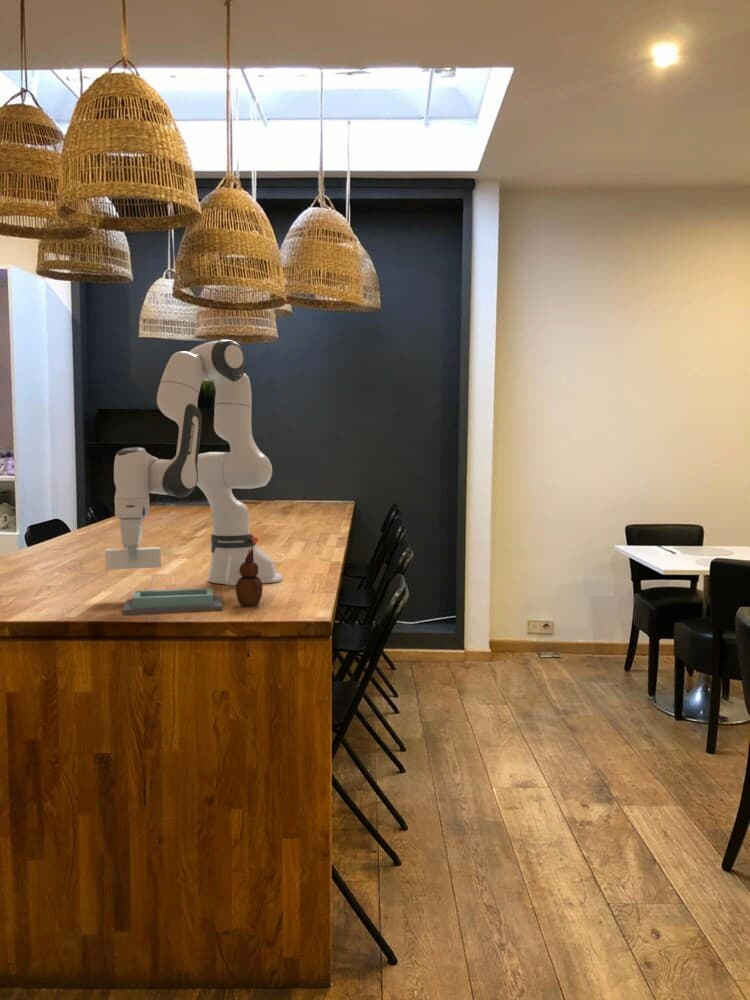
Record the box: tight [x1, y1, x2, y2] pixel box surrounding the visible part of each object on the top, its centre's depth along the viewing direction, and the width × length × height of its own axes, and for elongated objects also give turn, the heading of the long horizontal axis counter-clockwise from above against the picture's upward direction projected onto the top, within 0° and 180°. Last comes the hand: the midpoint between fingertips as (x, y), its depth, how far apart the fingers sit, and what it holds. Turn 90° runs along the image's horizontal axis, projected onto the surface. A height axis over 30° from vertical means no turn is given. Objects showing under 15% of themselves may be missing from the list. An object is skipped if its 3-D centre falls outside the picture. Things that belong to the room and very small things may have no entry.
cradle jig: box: [122, 587, 223, 615], centre depth 195 cm, size 24×13×4 cm, turn 103°
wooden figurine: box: [235, 547, 263, 607], centre depth 197 cm, size 7×6×15 cm
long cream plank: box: [104, 546, 162, 571], centre depth 205 cm, size 14×4×5 cm, turn 105°
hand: (133, 559), depth 205 cm, fingers closed on long cream plank, 4 cm apart
